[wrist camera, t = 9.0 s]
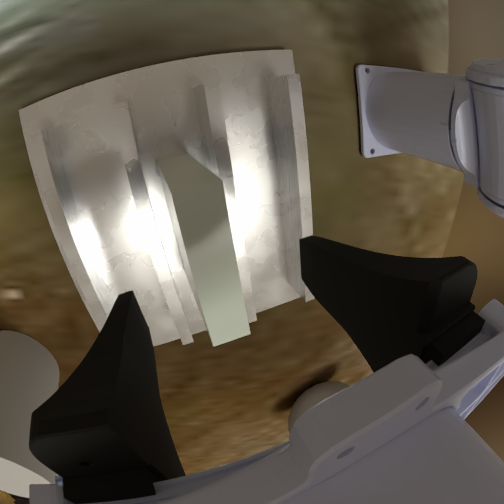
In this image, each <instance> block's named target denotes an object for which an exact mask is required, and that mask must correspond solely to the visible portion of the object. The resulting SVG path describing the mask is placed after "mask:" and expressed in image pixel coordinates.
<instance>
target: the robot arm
mask: <svg viewBox="0 0 504 504" xmlns="http://www.w3.org/2000/svg"><path fill="white" fill-rule="evenodd" d="M365 69H366V70H367V73H366V72H365ZM465 71H466V75H456V74H445V73H430V72H422V71H416V70H409V69H401V68H393V67H384V66H373V65H358V66H356V79H357V90H358V101H359V115H360V133H361V153H362V156H363V157H366V158H370V157H376V156H383V155H389V154H396V153H406V154H409V155H413V156H416V157H419V158H423V159H426V160H429V161H432V162H435V163H438V164H441V165H444V166H447V167H450V168H453V169H456V170H459V171H462V172H463V173H464V179H465V182H466V183H469V184H471V185H474V186H476V187H477V194H478V197H479V199H480V200H481V202H482V203H483V204H484V205H485V206H486V207H487V208H489V209H490V210H491V211H493V212H494V213H495V214H497V215H499V216H501V217H503V218H504V60H503V59H480V60H475V61H472V62H471V64H470V65H469V66H468V67H467V68H466V69H465ZM371 149H372V152H371V153H370V151H371ZM299 246H300V263H301V279H302V280H303V282H304V283H305V285H306V286H307V288H308V289H309V291H310V292H311V293H312V295H313V296H314V297H315V298H316V299H317V300H318V302H319V303H320V304H321V305H322V306H323V307H324V308H325V309H326V310H327V311H328V312H329V313H330V314H331V315H332V316H333V318H334V319H335V320H336V321H337V322H338V323H339V324H340V325H341V326H342V327H343V328H344V330H345V331H346V332H347V333H348V335H349V336H350V337H351V339H352V340H353V342H354V343H355V344H356V346H357V347H358V349H359V350H360V352H361V353H362V355H363V356H364V358H365V359H366V361H367V362H368V364H369V365H370V367H371V369H372V370H373V372H374V373H373V374H371V375H369V376H367V377H365V378H364V379H362V380H360V381H358V382H356V383H355V384H353V385H351V386H349V387H347V388H345V389H343V390H341V391H339V392H337V393H335V394H333V395H331V396H329V397H327V398H325V399H324V400H322V401H320V402H319V403H317V404H315V405H314V406H312V407H311V408H309V409H307V410H306V411H305V412H304V413H303V414H302V415H301V416H300V417H299V418H298V419H297V420H296V421H295V423H294V425H293V428H292V430H291V432H290V435H289V439H290V440H289V441H287V442H285V443H282V444H280V445H277V446H275V447H272V448H270V449H267V450H265V451H262V452H260V453H257V454H254V455H251V456H249V457H246V458H243V459H240V460H237V461H234V462H231V463H228V464H225V465H222V466H218V467H215V468H212V469H208V470H205V471H201V472H198V473H194V474H190V475H185V472H184V470H183V468H182V465H181V463H180V460H179V457H178V454H177V452H176V449H175V446H174V443H173V440H172V437H171V434H170V431H169V428H168V425H167V422H166V418H165V415H164V411H163V407H162V404H161V399H160V394H159V387H158V379H157V371H156V363H155V354H154V347H153V343H152V339H151V334H150V330H149V327H148V325H147V323H146V320H145V318H144V316H143V313H142V311H141V309H140V306H139V304H138V302H137V299H136V297H135V294H134V292H133V290H132V291H128V292H125V293H122V294H119V295H118V297H117V299H116V301H115V303H114V305H113V307H112V309H111V311H110V314H109V316H108V318H107V320H106V322H105V324H104V326H103V328H102V330H101V331H100V333H99V335H98V337H97V339H96V341H95V342H94V344H93V346H92V347H91V349H90V350H89V352H88V353H87V355H86V356H85V358H84V359H83V361H82V362H81V363H80V365H79V366H78V367H77V368H76V370H75V371H74V372H73V373H72V374H71V376H70V377H69V378H68V379H67V380H66V382H65V383H64V384H63V385H62V386H61V387H60V388H59V389H58V390H57V391H56V392H55V393H54V394H53V395H52V396H51V397H50V398H49V399H47V400H46V401H45V402H44V403H43V404H42V405H40V406H39V407H38V408H37V409H36V410H34V411H33V412H32V415H31V424H30V435H29V450H30V451H31V453H32V454H33V456H34V457H35V458H36V459H37V460H38V461H40V462H41V463H42V464H43V465H45V466H46V467H48V468H49V469H50V470H52V471H53V472H55V473H56V474H58V475H59V476H61V477H62V478H63V486H61V485H57V484H31V485H29V502H30V504H504V463H503V461H502V460H501V459H500V458H499V457H498V456H497V455H496V454H495V452H494V451H493V450H492V449H491V448H490V447H489V446H488V445H487V444H486V443H485V442H484V441H483V439H482V438H481V437H480V436H479V435H477V433H476V432H475V431H474V430H473V429H472V428H471V427H470V426H469V425H468V424H467V422H466V421H465V420H464V419H465V418H466V417H467V416H468V414H469V413H471V411H472V410H473V409H474V408H475V407H476V406H477V405H478V404H479V403H480V402H481V401H482V400H483V399H484V397H485V396H486V395H487V394H488V393H489V392H490V391H491V390H492V388H493V387H494V386H495V385H496V384H497V383H498V381H499V380H500V379H501V378H502V377H503V376H504V305H502V304H501V303H500V302H498V301H497V300H495V299H493V300H491V302H489V303H488V304H487V305H486V306H485V307H484V308H483V309H482V310H481V311H480V313H479V314H476V313H475V312H474V311H473V310H474V309H475V305H473V304H472V303H471V302H470V299H471V296H472V293H473V290H474V287H475V284H476V280H477V267H476V265H475V264H474V263H473V262H471V261H470V260H468V259H466V258H465V257H462V256H458V257H446V258H414V257H402V256H394V255H388V254H382V253H377V252H372V251H368V250H364V249H360V248H356V247H353V246H349V245H346V244H342V243H339V242H335V241H332V240H329V239H325V238H321V237H317V236H308V237H305V238H302V239H299Z"/></svg>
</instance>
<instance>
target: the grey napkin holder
mask: <svg viewBox="0 0 504 504" xmlns="http://www.w3.org/2000/svg"><path fill="white" fill-rule="evenodd" d="M9 494H10V493H9ZM10 495H11V496H12V498H14V499H15V500H16V501H14V503H15V504H30V502H29V498H26V497H21V496H17V495H13V494H10Z"/></svg>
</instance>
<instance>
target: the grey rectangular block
mask: <svg viewBox="0 0 504 504" xmlns="http://www.w3.org/2000/svg"><path fill="white" fill-rule="evenodd" d="M157 164H158V169H159V173H160V177H161V182H162V186H163V190H164V194H165V198H166V203H167V207H168V211H169V215H170V218H171V222H172V226H173V230H174V234H175V238H176V241H177V245H178V249H179V252H180V256H181V260H182V263H183V267H184V270H185V273H186V276H187V279H188V281H189V284H190V287H191V290H192V292H193V295H194V298H195V300H196V303H197V306H198V308H199V311H200V314H201V316H202V319H203V321H204V324H205V326H206V329H207V331H208V334H209V337H210V339H211V341H212V344H213V346H217V345H220V344H223V343H226V342H229V341H232V340H234V339H237V338H240V337H243V336H246V335H249V334H250V329H249V323H248V318H247V313H246V308H245V302H244V297H243V292H242V286H241V281H240V275H239V270H238V265H237V259H236V254H235V248H234V243H233V237H232V232H231V226H230V220H229V215H228V209H227V203H226V198H225V192H224V186H223V180H221V179H220V178H219V177H218V176H216V175H215V174H214V173H212V172H211V171H210V170H209V169H207V168H206V167H205V166H204V165H202V164H201V163H200V162H198V161H197V160H196V159H194V158H193V157H192V156H191V155H189V154H184V155H180V156H176V157H172V158H168V159H165V160H161V161H157Z"/></svg>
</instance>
